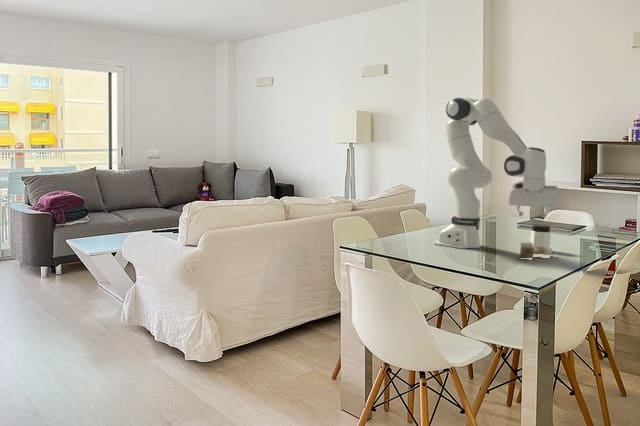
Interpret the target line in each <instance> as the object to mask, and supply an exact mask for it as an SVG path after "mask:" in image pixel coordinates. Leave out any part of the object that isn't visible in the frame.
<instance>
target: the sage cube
mask: <svg viewBox="0 0 640 426" xmlns="http://www.w3.org/2000/svg"><path fill="white" fill-rule="evenodd" d="M518 245H519V246H518V252H519V251H521V247H530V248H532V247H533V244H532V243H531V242H530V241H519V244H518Z"/></svg>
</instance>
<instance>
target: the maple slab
mask: <svg viewBox="0 0 640 426" xmlns="http://www.w3.org/2000/svg"><path fill="white" fill-rule="evenodd" d="M532 248H534V254H543V255H550V254H551V255H552V249H553V248H552V247H550V248H546V247H536V246H533V247H532Z"/></svg>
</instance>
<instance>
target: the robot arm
mask: <svg viewBox="0 0 640 426" xmlns="http://www.w3.org/2000/svg"><path fill="white" fill-rule="evenodd" d="M445 112H446V113H445V114H447V117H448V118H449V119H450V120H448V122H447V123H446V125H445V126H446V127H445V128H446V129H445V131H446V138H447V142H448V145H449V146H448V147H449V149H450V154H451V156H452V159H453V161H455V162H457V164H458V165H459V166H456V167H454V168H452V169H450V170H449V172H448V175H447V182H448V184H449V185H450V186H451V187H452V190H453V192H454V195H455V200H456V201H455V202H456V204H455V205H456V207H455V208H456V209H455V215H453V216H452V217H451V219H450V220H451V222H450V224H449V225H447V226H445V227H444V228H442V229H441V230H440V231H439V234H438V238H437V239H434V240H433V244H434V245H438V246H442V247H443V246H444V247H448V248H449V247H450V248H456V249H479V248H481V243H480V242H481V241H480V228H481V218H480V212H481V201H480V200H479V198H478V197H477V196H476V193H475V191H476V190H475V189H482V188H484V187H487V186H490V184H491V183H492V179H493V174H492V172H491V170H490V169H489V168H487V167H486V165H484V164H483V162H482V160H481V159H480V157H479V156H478V153H477V151H476V149H475V146H474V143H473V140H472V135H471V132H470V126H475V125H476V124H477V125H478V126H479V127H480V129H481V131H482V132H483V133H484V135H485V136H486V137H488V138H489V139H492V140H496V141H497V142H501V143H503V144H505V145H506V146H507V147H508V148H509V150H510V151H511V153H512V155H510V156H508V157H507V158H506V159H505V160H504V163H503V169H504V172H505V174H507V176H510V177H514V178H515V177H516V178H518V177H521V178H522V177H523V179H522V181H518V182H514V183H513V184H512V189H511V190H510V192H509V197H508V204H509V205H510V206H516V209H517V211H518V216H519V217H523V211H521V207H535V208H537V207H539V208H540V207H542V208H545V211H544V212H542V213H541V214H542V215H541V218H546V217H547V213H548V211H549V209H550V208H557V207H558V206H559V198H558V197H559V195H560V193H561V192H560V191H561V189H560V188H559V187H558V186H556V185H546V169H547V153H546V151H545V150H544V149H542V148H539V147H533V146H532V147H527V146H526V145H525V143H524V142H523V140H522V139H521V138H520V136H519V135H518V133H517V132H516V131H515V130H514V129H513V128H512V127H511V125H510V124H509V122H508V121H507V120H506V119H505V117H504V115H503V114H502V112H501V110H500V109H499V108H498V106H497V105H496V104H495V103H494V101H492V99H490V98H488V97H483V98H479V99H474V98H468V97H465V98H463V97H456V98H455V97H454V98H452V99H450V100H449V101H448V102H447V104H446V108H445Z"/></svg>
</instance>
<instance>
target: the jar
mask: <svg viewBox="0 0 640 426" xmlns="http://www.w3.org/2000/svg"><path fill="white" fill-rule="evenodd" d="M551 234H552V231H551V226H550V225H548V224H532V225H531V230H530V235H529V237H530V239H529V242H531V243H532V244H533V246H536V247H546V248H549V247H550V245H551ZM550 248H551V247H550Z"/></svg>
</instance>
